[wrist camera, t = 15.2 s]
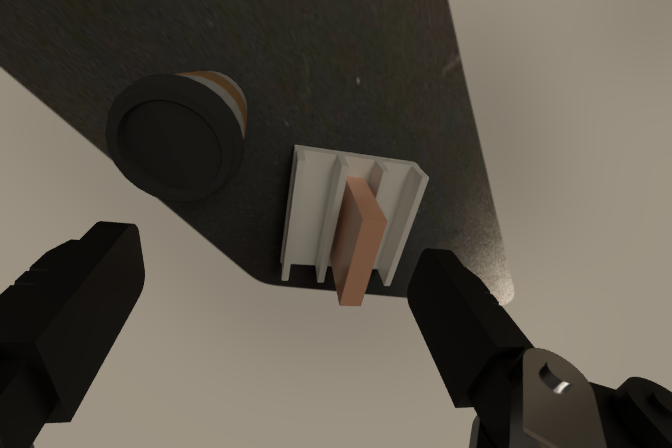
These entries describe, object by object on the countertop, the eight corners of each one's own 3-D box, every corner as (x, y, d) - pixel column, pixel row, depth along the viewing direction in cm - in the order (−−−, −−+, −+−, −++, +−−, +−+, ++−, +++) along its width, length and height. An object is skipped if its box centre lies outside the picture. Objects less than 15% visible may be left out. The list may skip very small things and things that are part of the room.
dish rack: (294, 144, 35) (295, 159, 31) (414, 162, 39) (430, 177, 34) (280, 256, 43) (280, 280, 39) (381, 263, 47) (391, 286, 42)
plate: (345, 175, 37) (363, 218, 28) (364, 178, 37) (387, 220, 29) (328, 250, 42) (339, 305, 34) (345, 252, 43) (360, 306, 34)
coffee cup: (194, 151, 34) (142, 221, 22) (156, 70, 30) (62, 97, 17) (267, 133, 34) (257, 192, 22) (240, 49, 30) (208, 62, 17)
